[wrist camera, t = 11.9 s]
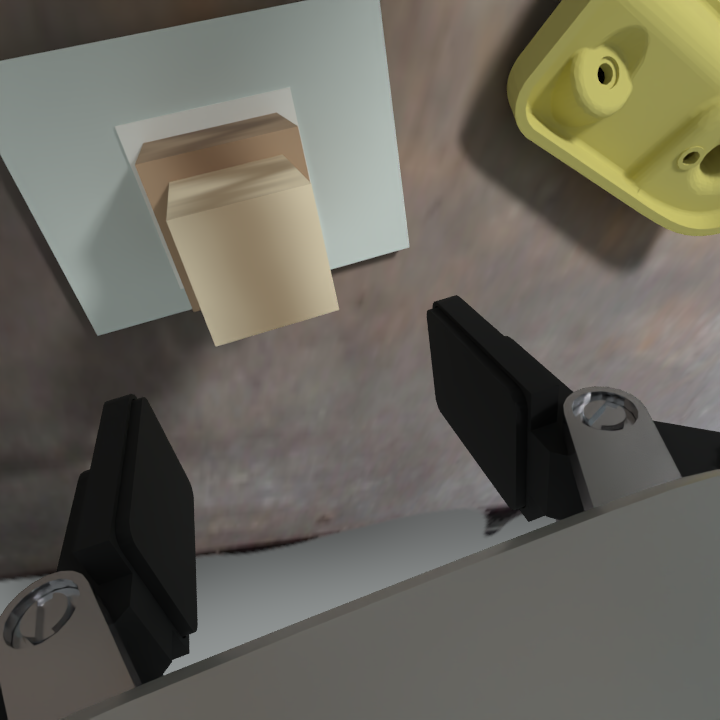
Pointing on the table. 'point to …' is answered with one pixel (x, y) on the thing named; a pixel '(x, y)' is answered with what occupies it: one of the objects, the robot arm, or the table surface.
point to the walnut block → (212, 163)
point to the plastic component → (630, 103)
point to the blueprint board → (192, 113)
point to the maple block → (251, 247)
